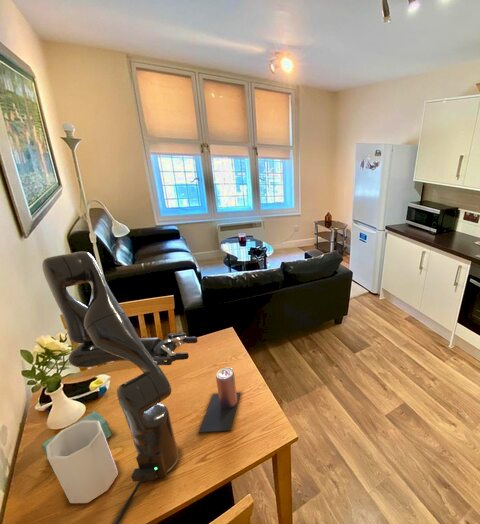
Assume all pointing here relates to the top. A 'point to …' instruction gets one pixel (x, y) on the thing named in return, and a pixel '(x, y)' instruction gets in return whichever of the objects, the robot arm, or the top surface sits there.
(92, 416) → the box
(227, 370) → the beverage can
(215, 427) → the mat
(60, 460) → the cup
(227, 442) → the top surface
